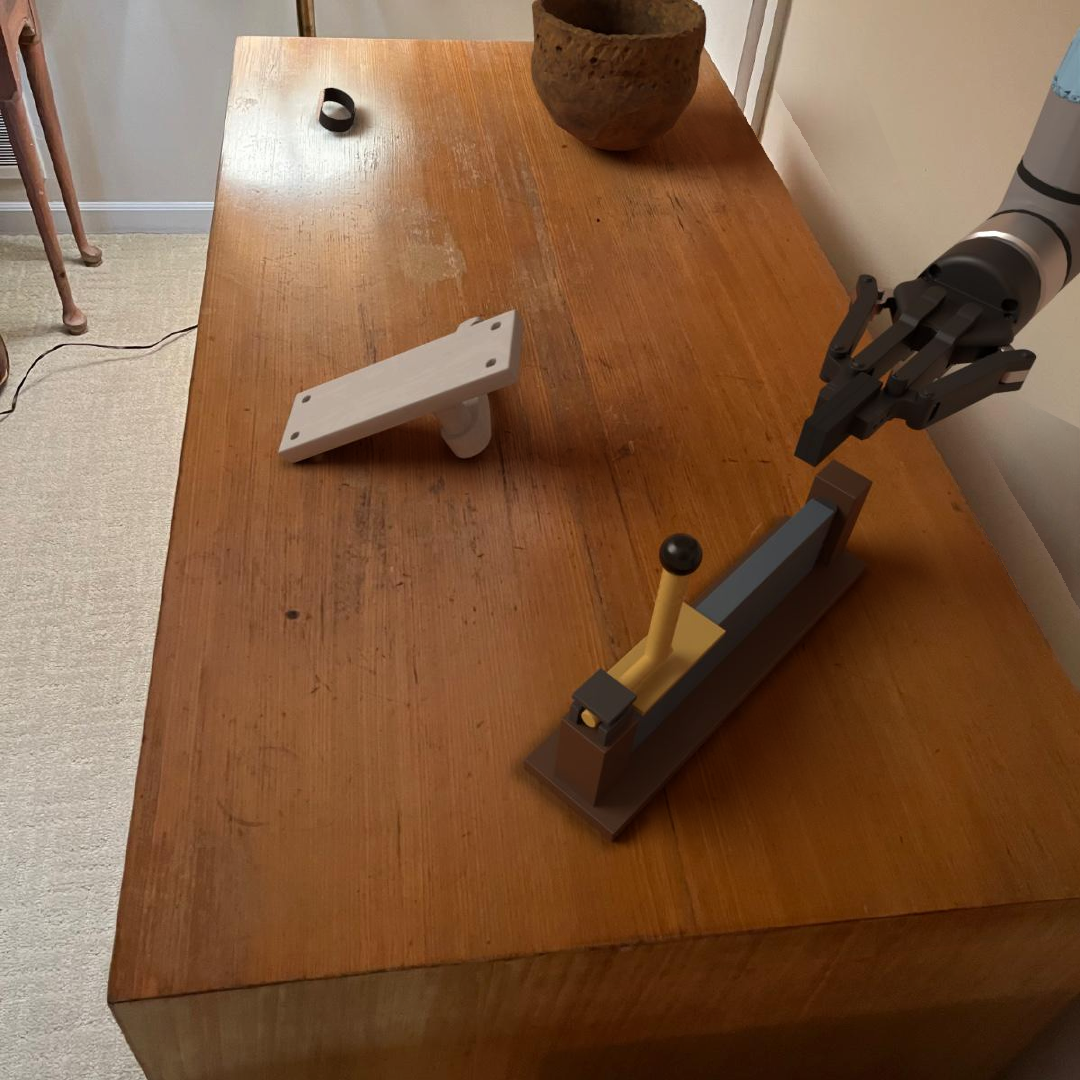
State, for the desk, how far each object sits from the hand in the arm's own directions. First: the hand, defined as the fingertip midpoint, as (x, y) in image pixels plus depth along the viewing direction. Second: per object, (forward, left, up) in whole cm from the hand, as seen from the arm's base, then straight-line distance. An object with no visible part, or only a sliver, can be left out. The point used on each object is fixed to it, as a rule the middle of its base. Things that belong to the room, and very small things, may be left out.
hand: (810, 443), depth 59 cm
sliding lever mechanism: (-3, +3, -17) cm, 17 cm away
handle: (+23, +24, -17) cm, 37 cm away
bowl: (+71, +3, -17) cm, 73 cm away
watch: (+73, +34, -17) cm, 82 cm away
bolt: (-11, +11, -9) cm, 17 cm away
